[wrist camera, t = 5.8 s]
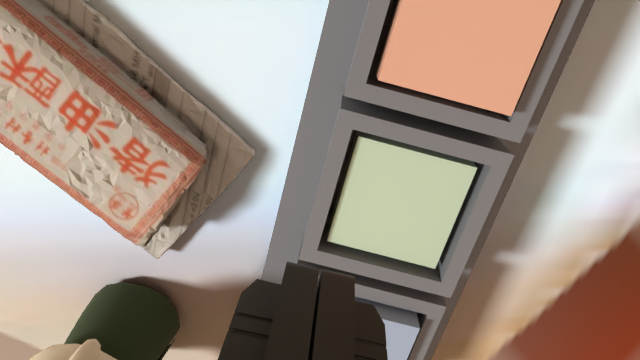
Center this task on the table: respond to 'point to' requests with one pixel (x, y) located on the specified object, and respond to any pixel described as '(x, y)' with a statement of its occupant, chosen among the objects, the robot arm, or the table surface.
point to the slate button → (397, 328)
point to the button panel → (411, 128)
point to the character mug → (120, 327)
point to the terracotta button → (466, 48)
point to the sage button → (399, 199)
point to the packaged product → (109, 122)
